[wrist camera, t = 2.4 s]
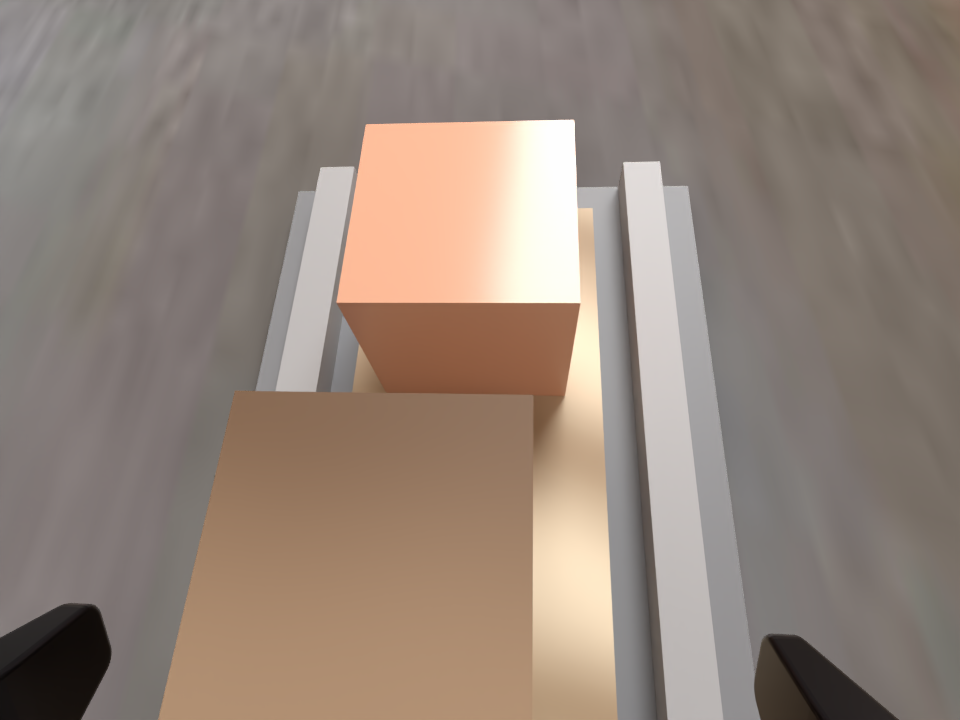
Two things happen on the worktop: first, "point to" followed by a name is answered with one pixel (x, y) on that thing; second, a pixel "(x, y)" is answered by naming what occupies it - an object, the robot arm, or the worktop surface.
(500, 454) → the wooden sled with post
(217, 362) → the worktop surface
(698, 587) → the guide board
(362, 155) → the terracotta cube
